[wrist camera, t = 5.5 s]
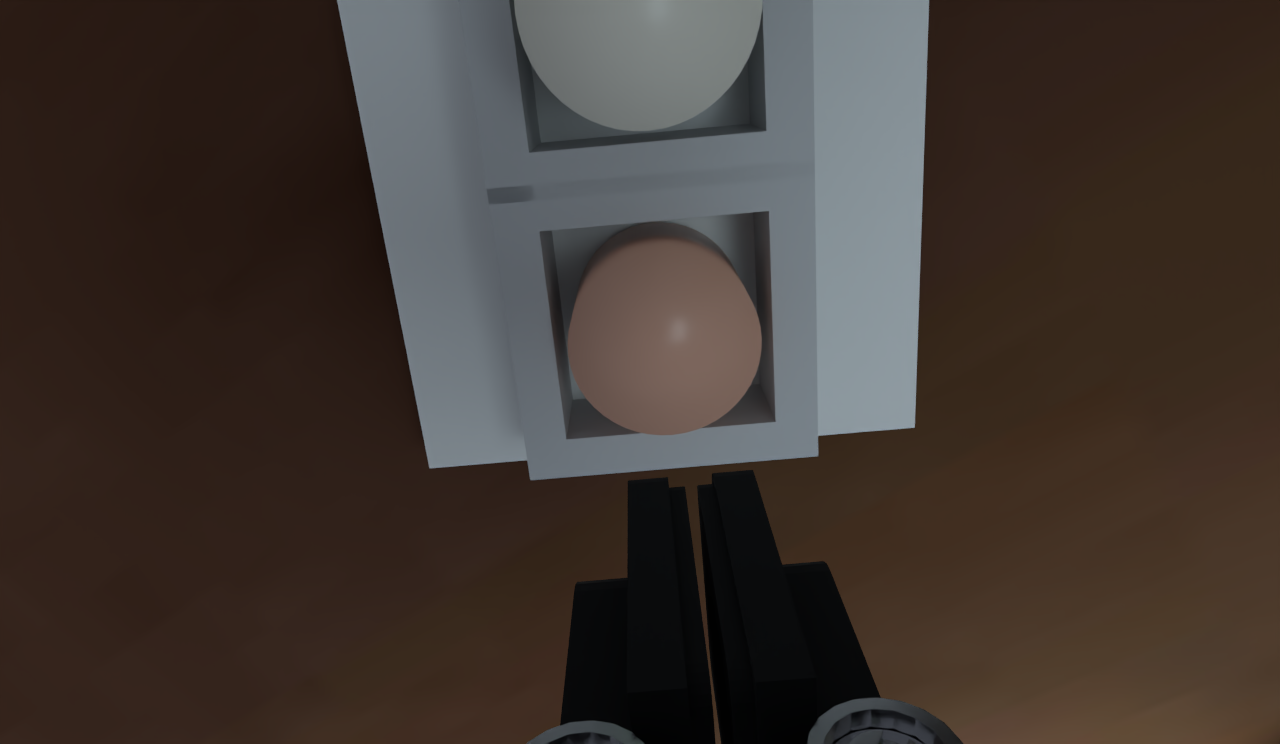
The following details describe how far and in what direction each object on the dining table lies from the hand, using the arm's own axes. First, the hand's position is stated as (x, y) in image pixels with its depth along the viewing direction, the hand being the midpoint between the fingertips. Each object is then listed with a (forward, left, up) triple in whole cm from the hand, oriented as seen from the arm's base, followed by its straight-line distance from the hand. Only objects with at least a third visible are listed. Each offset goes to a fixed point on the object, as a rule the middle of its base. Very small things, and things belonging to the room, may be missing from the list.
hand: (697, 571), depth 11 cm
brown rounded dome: (0, 0, -15) cm, 15 cm away
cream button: (-8, 0, -13) cm, 15 cm away
